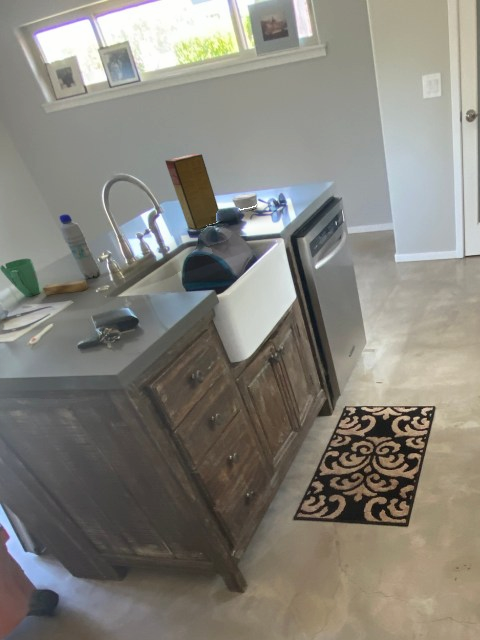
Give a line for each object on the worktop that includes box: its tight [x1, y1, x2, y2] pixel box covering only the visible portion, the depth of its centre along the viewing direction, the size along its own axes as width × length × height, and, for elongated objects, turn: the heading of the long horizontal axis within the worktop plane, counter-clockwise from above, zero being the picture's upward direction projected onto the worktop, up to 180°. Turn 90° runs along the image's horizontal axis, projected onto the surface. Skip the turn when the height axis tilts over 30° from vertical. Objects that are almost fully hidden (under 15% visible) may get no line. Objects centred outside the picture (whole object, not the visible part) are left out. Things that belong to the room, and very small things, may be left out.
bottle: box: [59, 213, 101, 279], centre depth 179 cm, size 7×7×20 cm
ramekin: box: [231, 192, 258, 212], centre depth 238 cm, size 11×11×5 cm
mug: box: [0, 258, 41, 297], centre depth 174 cm, size 15×10×10 cm
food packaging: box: [164, 153, 220, 231], centre depth 218 cm, size 13×9×25 cm
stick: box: [42, 279, 89, 296], centre depth 175 cm, size 14×3×2 cm, turn 89°
